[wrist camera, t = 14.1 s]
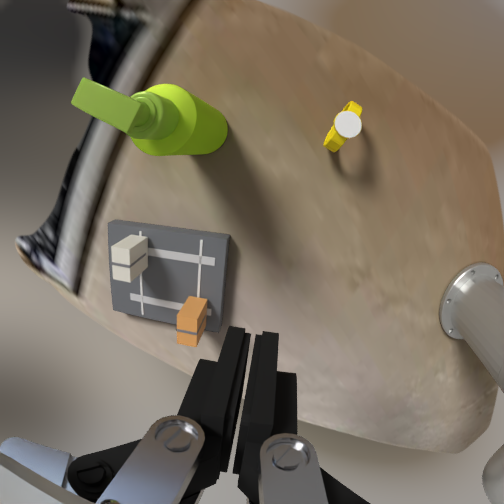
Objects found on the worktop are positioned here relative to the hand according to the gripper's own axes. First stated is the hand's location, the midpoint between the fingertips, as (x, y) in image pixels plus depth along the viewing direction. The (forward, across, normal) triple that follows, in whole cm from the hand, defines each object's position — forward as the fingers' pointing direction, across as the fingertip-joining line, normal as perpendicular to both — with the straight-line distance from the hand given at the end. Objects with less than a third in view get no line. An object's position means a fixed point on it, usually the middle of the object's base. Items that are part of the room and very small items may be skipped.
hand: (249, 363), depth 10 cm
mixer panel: (+27, +13, +10) cm, 32 cm away
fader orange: (+25, +8, +13) cm, 29 cm away
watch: (+27, -6, -11) cm, 30 cm away
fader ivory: (+25, +16, +6) cm, 30 cm away
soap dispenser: (+27, +10, -9) cm, 30 cm away
